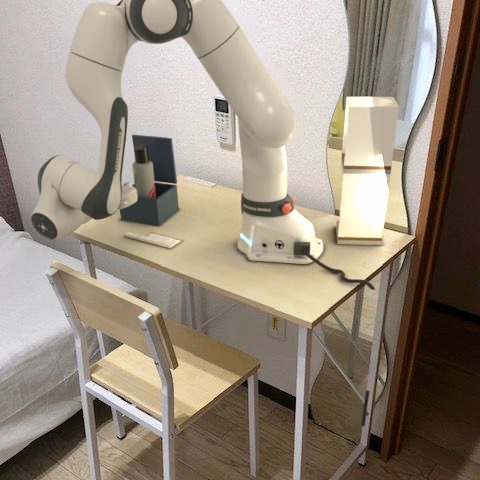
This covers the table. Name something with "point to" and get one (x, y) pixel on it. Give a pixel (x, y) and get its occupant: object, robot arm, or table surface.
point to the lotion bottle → (143, 173)
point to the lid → (159, 156)
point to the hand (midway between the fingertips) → (114, 183)
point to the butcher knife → (155, 239)
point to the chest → (153, 206)
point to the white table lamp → (366, 168)
